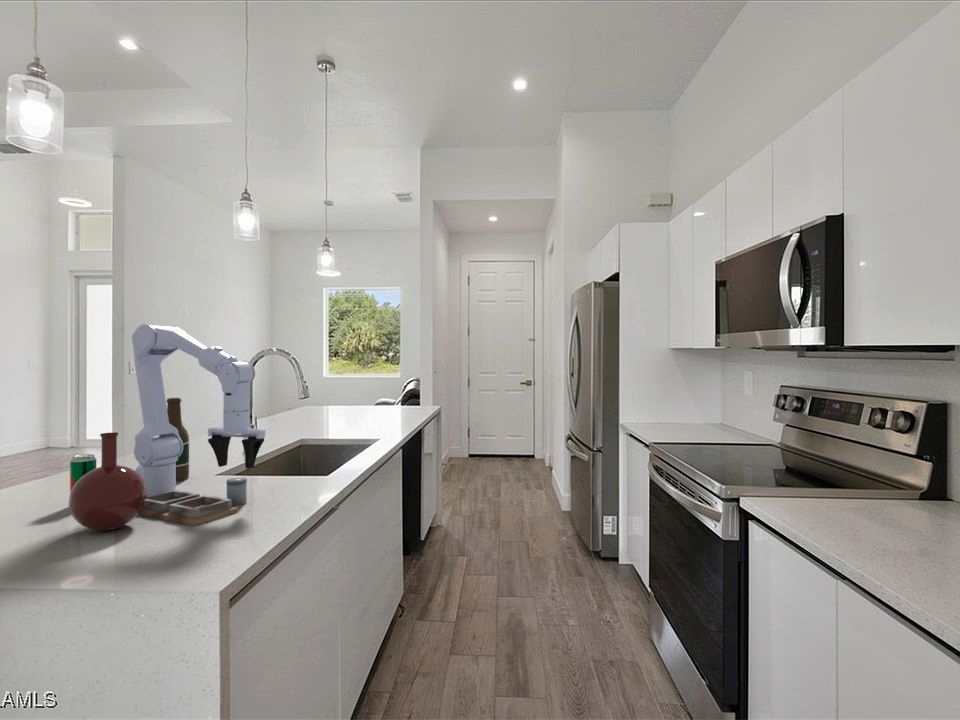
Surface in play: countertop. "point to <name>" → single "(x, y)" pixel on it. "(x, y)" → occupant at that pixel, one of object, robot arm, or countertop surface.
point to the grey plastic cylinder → (237, 490)
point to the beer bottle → (176, 421)
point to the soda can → (80, 467)
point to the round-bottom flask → (107, 492)
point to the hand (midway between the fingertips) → (236, 466)
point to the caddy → (187, 507)
